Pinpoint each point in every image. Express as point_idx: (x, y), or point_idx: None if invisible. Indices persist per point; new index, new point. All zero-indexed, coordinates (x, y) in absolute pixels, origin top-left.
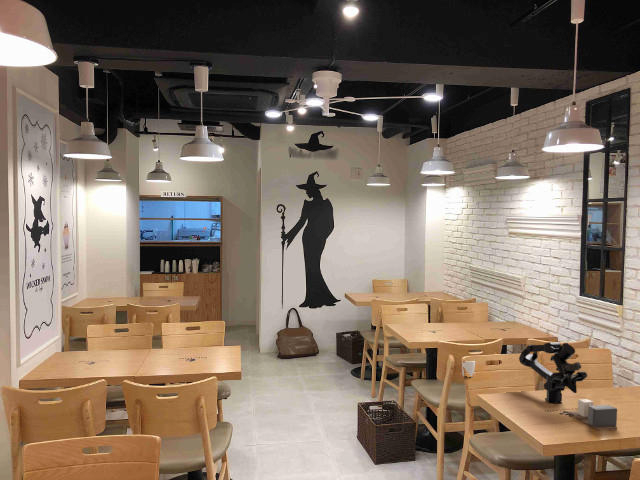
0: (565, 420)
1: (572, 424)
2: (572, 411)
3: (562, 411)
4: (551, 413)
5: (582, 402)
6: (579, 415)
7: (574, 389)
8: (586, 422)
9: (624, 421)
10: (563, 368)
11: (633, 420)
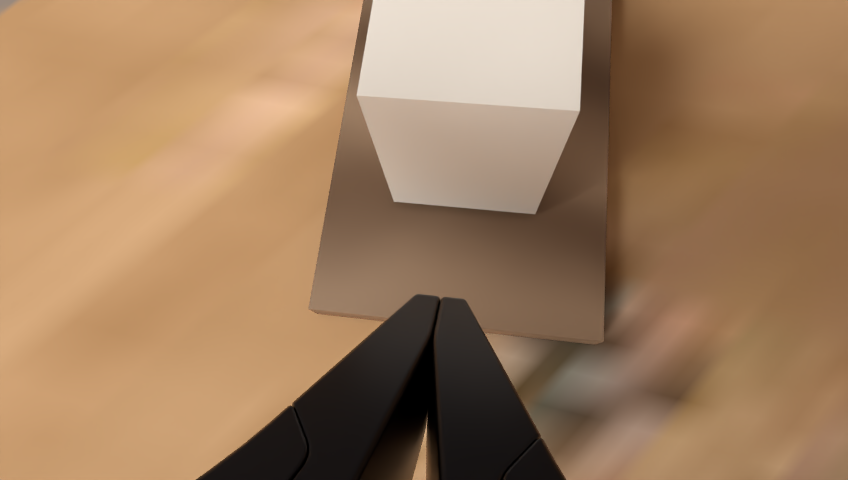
0: (781, 165)
1: (774, 54)
2: (524, 320)
3: (593, 445)
4: (826, 421)
5: (580, 14)
6: None
7: (460, 337)
8: (609, 12)
9: (122, 13)
10: None
11: (7, 16)
